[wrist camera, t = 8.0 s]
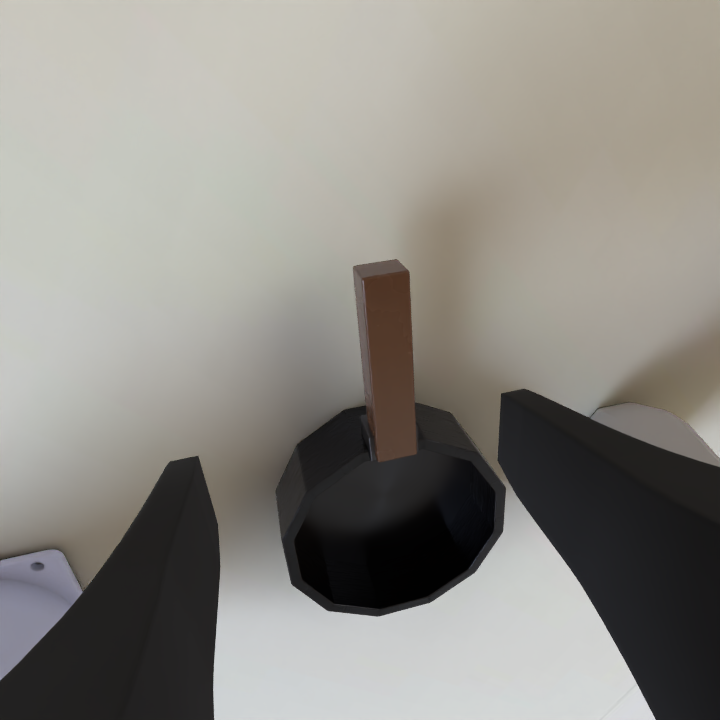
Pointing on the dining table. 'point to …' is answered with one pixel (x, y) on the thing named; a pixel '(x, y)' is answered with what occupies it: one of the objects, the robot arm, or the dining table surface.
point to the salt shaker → (657, 429)
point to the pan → (386, 480)
